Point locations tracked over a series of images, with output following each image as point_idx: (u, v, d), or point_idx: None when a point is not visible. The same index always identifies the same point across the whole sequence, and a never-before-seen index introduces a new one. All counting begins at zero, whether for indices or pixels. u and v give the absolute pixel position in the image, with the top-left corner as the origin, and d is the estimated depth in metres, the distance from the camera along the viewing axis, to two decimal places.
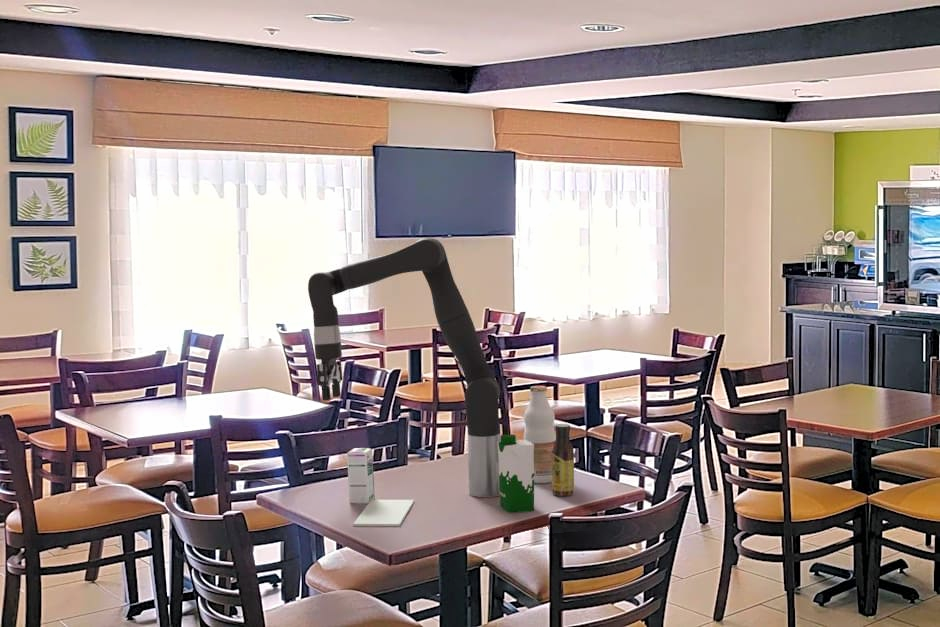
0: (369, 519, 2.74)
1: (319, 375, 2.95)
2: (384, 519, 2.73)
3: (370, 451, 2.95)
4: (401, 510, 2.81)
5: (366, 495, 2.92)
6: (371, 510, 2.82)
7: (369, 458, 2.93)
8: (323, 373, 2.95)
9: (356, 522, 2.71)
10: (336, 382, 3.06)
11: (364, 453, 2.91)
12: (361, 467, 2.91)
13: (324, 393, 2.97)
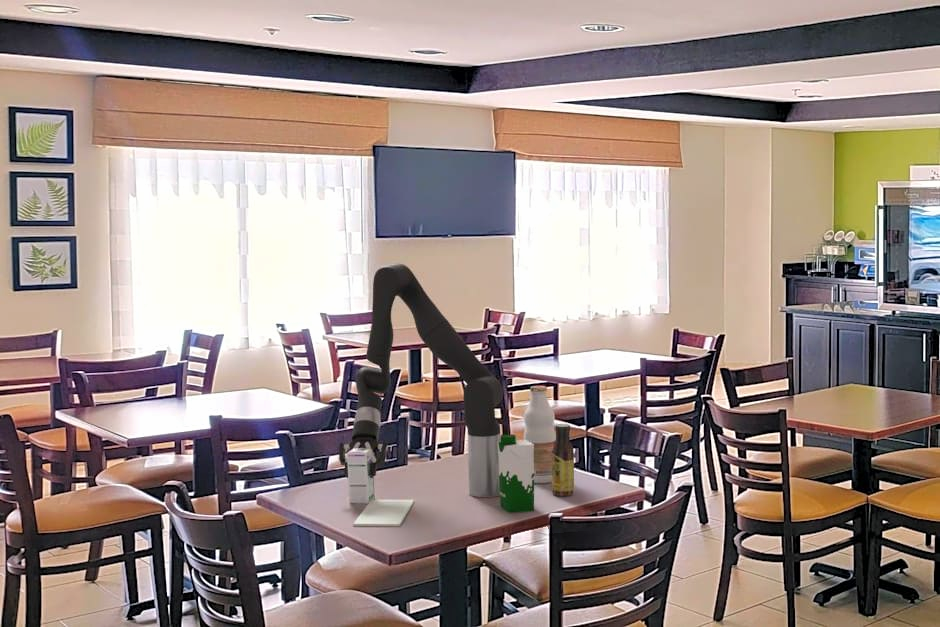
0: (369, 519, 2.74)
1: None
2: (384, 519, 2.73)
3: (370, 451, 2.95)
4: (401, 510, 2.81)
5: (366, 495, 2.92)
6: (371, 510, 2.82)
7: (369, 458, 2.93)
8: None
9: (356, 522, 2.71)
10: None
11: (364, 453, 2.91)
12: (361, 467, 2.91)
13: None
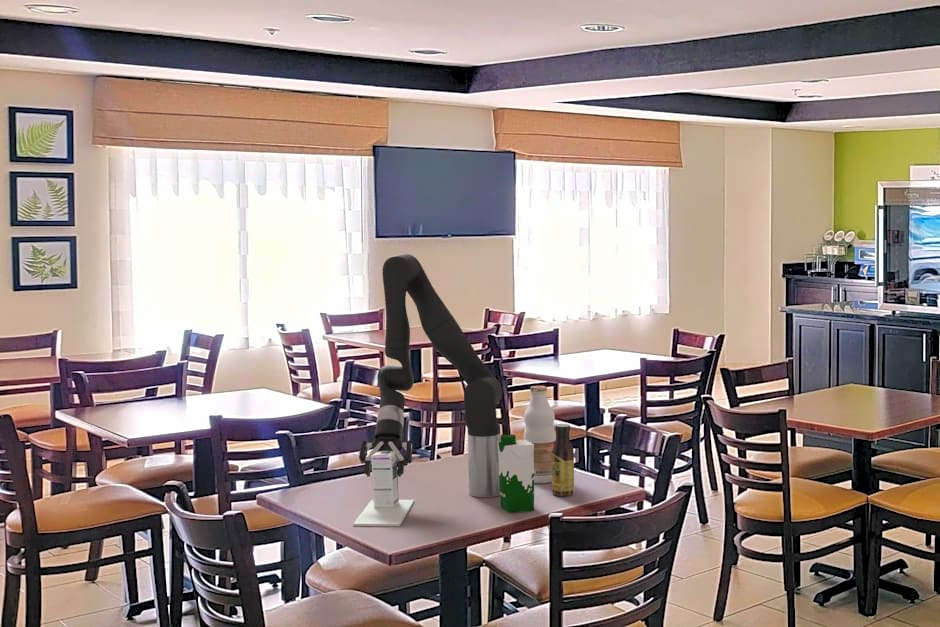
0: (369, 519, 2.74)
1: None
2: (384, 519, 2.73)
3: (395, 454, 2.87)
4: (401, 510, 2.81)
5: (391, 499, 2.84)
6: (371, 510, 2.82)
7: (394, 461, 2.86)
8: None
9: (356, 522, 2.71)
10: None
11: (389, 456, 2.83)
12: (386, 470, 2.84)
13: None
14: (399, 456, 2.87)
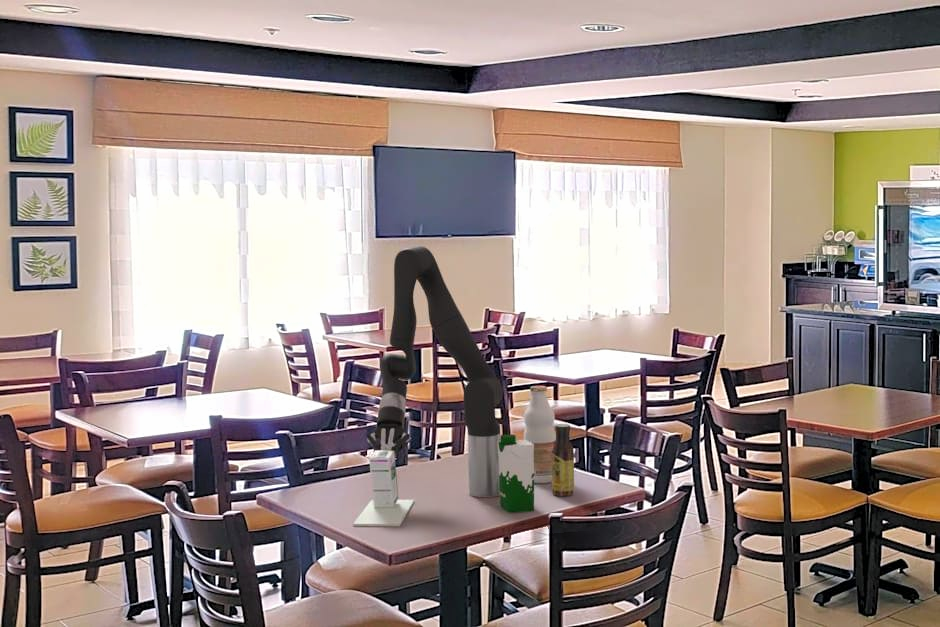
0: (369, 519, 2.74)
1: (372, 446, 2.93)
2: (384, 519, 2.73)
3: (393, 454, 2.85)
4: (401, 510, 2.81)
5: (391, 499, 2.84)
6: (371, 510, 2.82)
7: (392, 462, 2.84)
8: (370, 442, 2.92)
9: (356, 522, 2.71)
10: None
11: (387, 458, 2.81)
12: (384, 472, 2.82)
13: None
14: (389, 445, 2.91)
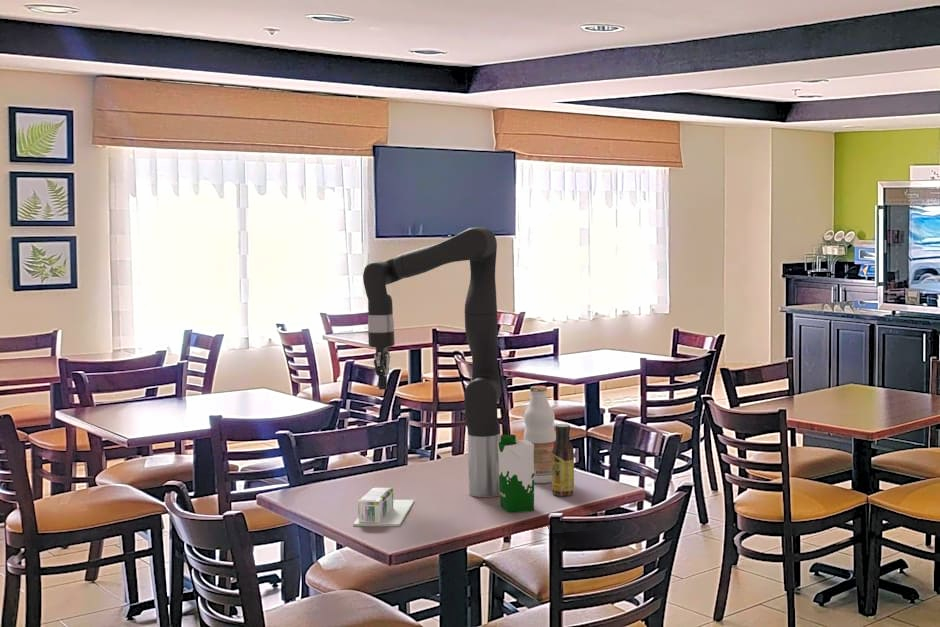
0: None
1: (377, 369, 3.03)
2: (384, 519, 2.73)
3: (379, 505, 2.70)
4: (401, 510, 2.81)
5: None
6: None
7: (381, 510, 2.72)
8: (381, 368, 3.03)
9: (356, 522, 2.71)
10: None
11: (377, 522, 2.70)
12: None
13: (381, 383, 3.07)
14: (387, 370, 3.08)
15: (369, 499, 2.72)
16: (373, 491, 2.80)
